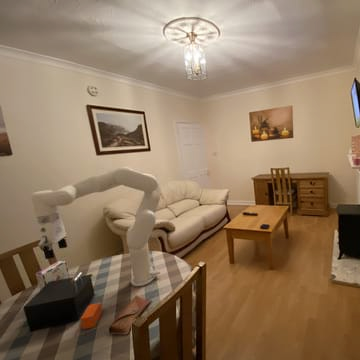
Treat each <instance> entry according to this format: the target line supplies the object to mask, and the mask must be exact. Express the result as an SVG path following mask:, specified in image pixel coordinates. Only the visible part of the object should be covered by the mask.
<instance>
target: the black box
mask: <svg viewBox="0 0 360 360" xmlns="http://www.w3.org/2000/svg"><path fill="white" fill-rule="evenodd" d="M95 295H96V294H95V290H94V286H93V279H92V277H91V278H90V280H89V281H88V282H87V284H86V285H85V286H84V288H83V289H82V290H81V292H80V293H79V295H78V296H77V297H76V298H75V299H70V300H65V301H60V302H55V303H50V304H45V305H40V306H35V307H30V308H25V309H24V308H23V311H24V314H25V319H26V322H27V323H26V324H27V327H28V330H29V332H36V331H39V330H44V329H48V328H52V327H56V326H57V327H58V326H61V325H66V324H67V325H68V324H71V323H75V322H79V321H80V320H81V317H82V316H83V314H84V313H85V311H86V309H87V308H88V306H89V305H90V303H91V302H92V300H93V298H94V297H95Z"/></svg>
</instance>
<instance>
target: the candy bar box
mask: <svg viewBox="0 0 360 360" xmlns="http://www.w3.org/2000/svg"><path fill="white" fill-rule="evenodd" d="M35 277H36V280H37V283H38V288H39V291H40V290H41V289H42V288H43V287H44V286H45V285H46V284H47V283H48V282H51V281H56V280H62V279H67V278H71V277H70V274H69V269H68V264H67V261H66V260H58V261H56V262H54V263H52V264H50V265H48V266H47V267H44V268H43V269H41V270H40V271H37V272H35Z"/></svg>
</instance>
